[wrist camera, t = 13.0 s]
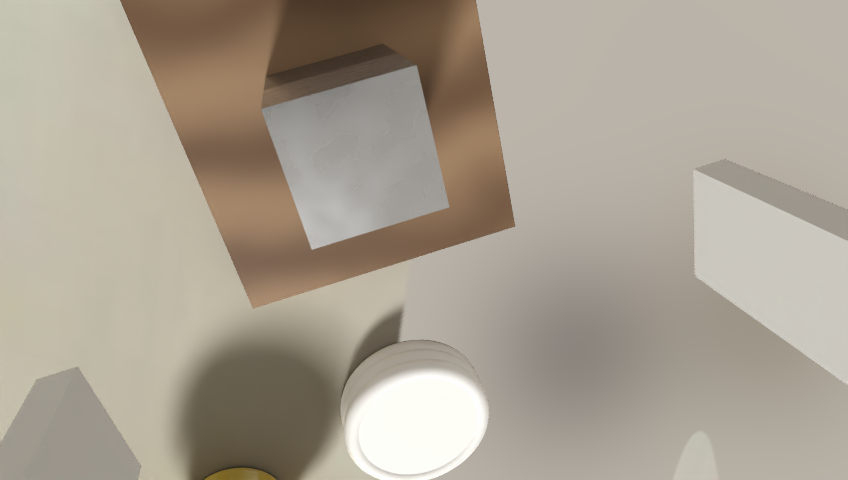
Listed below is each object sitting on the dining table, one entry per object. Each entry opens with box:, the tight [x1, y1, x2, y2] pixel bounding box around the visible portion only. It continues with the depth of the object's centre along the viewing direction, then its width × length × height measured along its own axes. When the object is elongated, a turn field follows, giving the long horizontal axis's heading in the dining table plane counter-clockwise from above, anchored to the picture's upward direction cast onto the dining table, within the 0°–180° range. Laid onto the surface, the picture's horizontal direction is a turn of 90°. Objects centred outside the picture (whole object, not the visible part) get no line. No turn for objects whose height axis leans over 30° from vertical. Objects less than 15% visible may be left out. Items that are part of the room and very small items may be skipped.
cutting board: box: [120, 0, 515, 308], centre depth 31 cm, size 18×16×2 cm
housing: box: [261, 44, 449, 250], centre depth 27 cm, size 6×6×8 cm
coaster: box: [340, 340, 489, 480], centre depth 40 cm, size 10×10×4 cm
